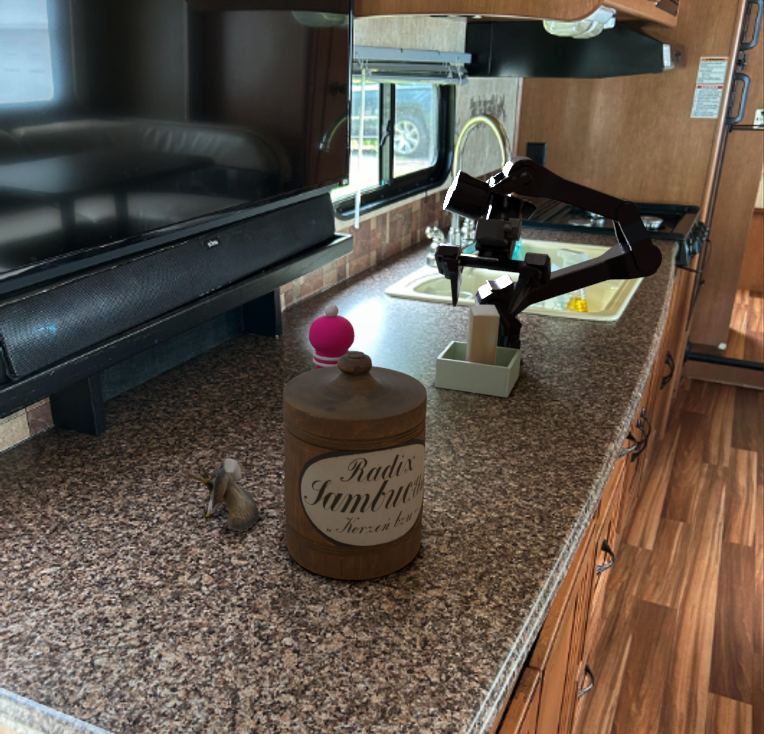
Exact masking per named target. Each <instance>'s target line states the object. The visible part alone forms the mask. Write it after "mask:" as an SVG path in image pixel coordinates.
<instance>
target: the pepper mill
mask: <svg viewBox="0 0 764 734" xmlns="http://www.w3.org/2000/svg"><path fill="white" fill-rule="evenodd" d="M355 337H356V336H355V329H354V326H353V324H352V323H351V321H350V320H349V319H348V318H346V317H344V316H342V315H339V308H338V306H337V305H336V304H334V303H329V304H327V305H326V306H325V308H324V315H321V316H319V317H317V318H316V319H315V320H313V322H312V323H311V324H310V326H309V329H308V340H309V343H310V345H311V347H312V348H313V349H314V350H313V351H312V356H313V358H312V362H313V364H314V365H315V366H316V367H315V369H319V368H323V367H330V366H337V363H338V360H339V358H340V357H341V356H342V355H344V354H346V353H347V352H349V351H350V348H351V347H352V346H353V344H354V342H355Z"/></svg>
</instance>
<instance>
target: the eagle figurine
mask: <svg viewBox="0 0 764 734" xmlns="http://www.w3.org/2000/svg"><path fill="white" fill-rule="evenodd" d="M240 469H241V467H240V465H239V463H238V461H236V460H235V459H233V458H227V457H226V458H225V459H224V460H223V464H221V465H220V469H219V465H218V464H215V468H214V471H213V473H212V474H211V476H209V473H208V471H207V469H206V468H205V466H201V468H200V470H199V474H197V473H194V472H192V471H190V470H189V469H188V468H183V469H182V471H183V472H184V473H185V475H186V476H188V477H189V478H191V479H193V480H196V481H198V482H200V483H201V484H203V485H204V487H206V488H207V490H208V492H209V493H210V495H209V496H210V497H209V502H208V507H207V512H206V515H205V517H206V518H208V517H210V515H212V514H214V513H215V512H216V510H217V508H218V506H219V505H220V503H222V502H223V503H225V505H226V507H227V508H226V509H227V511H228V518H227V526H228V529H229V530H232V531H234V532H237V531H238V532H239V533H243V532H247V531H249V529H252V528H253V526H254V525H256V524H257V521H258V520H259V518H260V516H259V515H260V511H259V507H258V505H257V503H256V502H255V499H254V497H253V496H252V495H251V493H250V492H249V491H247V489H245V488H244V487H242V486H241V485H240V484H238V483H237V482H238V481H240V480H241V479H242V472H241V470H240Z"/></svg>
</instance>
